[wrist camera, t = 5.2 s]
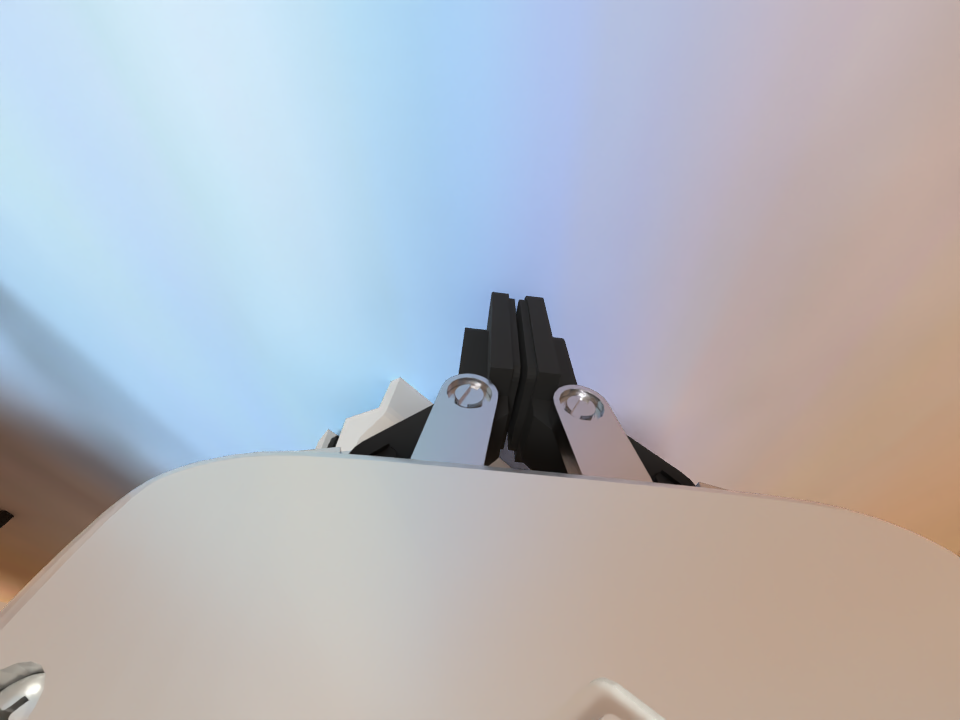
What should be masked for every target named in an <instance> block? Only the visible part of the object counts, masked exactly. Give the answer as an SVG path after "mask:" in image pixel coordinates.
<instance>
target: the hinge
mask: <svg viewBox="0 0 960 720" xmlns="http://www.w3.org/2000/svg"><path fill="white" fill-rule="evenodd" d="M431 405H433V403H431V402H430V401H429V400H428V399H426V398H425V397H424V396H423V395H422V394H420V393H419V392H418V391H417V390H415V389H414V388H413V387H412V386H410V385H409V384H408V383H407V382H406V381H404V380H403V379H402V378H401V377H400V378H397V379H395V380H393V381H391V382H390V385H389V387H388V389H387V391H386V393H385V396H384V398H383V400H382V402H381V404H380V406H379V408H376V409H373V410H370V411H367V412H364V413H361V414H358V415H355V416H352V417H350V418H347V419H346V420H345V423H344V425H343V428H342V431H341V433H340V436H338V435H336V434H335V433H333V432H332V431H330V430H327V431H326V432H325V434H324V435H323V436H322V437H321V439H320V440H319V441H318V444H317V446H316V449H322V448H333V447H341V451H351V450H352V449H353V448H354V447H355V446H357V445H358V444H360V443H361V442H362V441H364V440H366V439H368V438H370V437H372V436H374V435H376V434H377V433H379V432H381V431H383V430H385V429H387V428H389V427H391V426H393V425H395V424H397V423H398V422H400V421H402V420H404V419H406V418H408V417H410V416H412V415H414V414H416V413H417V412H419V411H421V410H423V409H425V408H427V407H429V406H431ZM489 466H492V467H502V468H511V467H510V466H509V465H508V464H506V463H505V462H504V461H503V460H501V459H500V458H498V459H497V460H496V461H494V462H493V463H492V464H490V465H489Z"/></svg>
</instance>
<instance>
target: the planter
mask: <svg viewBox="0 0 960 720" xmlns="http://www.w3.org/2000/svg"><path fill="white" fill-rule="evenodd" d="M12 518H13V515H11V514H10V513H8V512H7V511H0V528H1V527H2V526H3V525H5V524H6V523H7V522H8V521H9V520H10V519H12Z"/></svg>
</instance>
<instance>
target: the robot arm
mask: <svg viewBox="0 0 960 720" xmlns="http://www.w3.org/2000/svg"><path fill="white" fill-rule="evenodd" d="M507 433H508V450H514V455H515V462H522V463H524V464H526V465H527V466H528V467H529V468H530V470H523V469H513V468H502V467H492V466H489V465H490V464H492V463H493V462H494V461H496V460H497V459H498V458H499V454H500V449H503V448H504V444H505V440H506V435H507ZM0 720H960V557H959V556H957V555H956V554H954V553H953V552H951V551H949V550H948V549H946V548H944V547H942V546H940V545H938V544H936V543H935V542H933V541H931V540H929V539H927V538H925V537H923V536H921V535H918V534H916V533H914V532H912V531H910V530H907V529H905V528H902V527H900V526H897V525H894V524H892V523H889V522H887V521H884V520H882V519H879V518H876V517H873V516H869V515H866V514H863V513H859V512H856V511H852V510H849V509H846V508H842V507H837V506H832V505H828V504H823V503H818V502H813V501H807V500H800V499H793V498H786V497H778V496H772V495H764V494H756V493H747V492H739V491H730V490H726V489H722V488H719V487H715V486H712V485H708V484H705V483H701V482H698V484H697V485H696V486H695V485H694V483H693V482H692V481H691V480H690V479H689V478H688V477H686V476H685V475H684V474H683V473H682V472H680V471H679V470H677V469H676V468H674V467H673V466H671V465H670V464H668V463H667V462H665V461H664V460H663V459H661V458H660V457H658V456H657V455H655V454H654V453H652V452H651V451H649V450H648V449H646V448H645V447H643V446H642V445H641V444H639V443H638V442H636V441H635V440H633V439H632V438H630V437H629V436H627V435H626V434H625V432H624V430H623V428H622V427H621V425H620V423H619V421H618V419H617V418H616V416H615V414H614V412H613V411H612V409H611V407H610V405H609V404H608V402H607V401H606V400H605V399H604V397H602V396H601V395H600V394H599V393H597V392H596V391H594V390H592V389H590V388H587V387H584V386H580V385H577V382H576V379H575V375H574V372H573V368H572V365H571V361H570V358H569V354H568V351H567V347H566V344H565V341H564V339H562V338H554V337H552V332H551V328H550V324H549V320H548V316H547V311H546V307H545V303H544V299H543V298H540V297H532V296H526V297H525V300H519V302H518V306H517V312H516V309H515V299H510V298H509V294H505V293H496V292H492V295H491V302H490V309H489V317H488V324H487V330H481V329H472V328H465V332H464V340H463V347H462V354H461V361H460V368H459V374H458V375H455V376H453V377H450V378H449V379H448V380H446V381H445V382H444V384H443V385H442V387H441V389H440V391H439V394H438V396H437V398H436V401H435V403H434V404H433V405H431V406H429V407H427V408H425V409H423V410H421V411H419V412H417V413H416V414H414V415H412V416H410V417H408V418H406V419H404V420H402V421H400V422H398V423H397V424H395V425H393V426H391V427H389V428H387V429H385V430H383V431H381V432H379V433H377V434H376V435H374V436H372V437H370V438H368V439H366V440H364V441H362V442H361V443H360V444H358V445H357V446H355V447H354V448H353V449H352V450H351V451H341V447H333V448H322V449H311V450H301V451H262V452H253V453H244V454H235V455H228V456H223V457H218V458H214V459H209V460H204V461H199V462H195V463H192V464H188V465H185V466H181V467H179V468H176V469H173V470H170V471H167V472H164V473H162V474H160V475H158V476H156V477H154V478H152V479H150V480H148V481H146V482H144V483H143V484H141V485H140V486H138V487H137V488H135V489H133V490H132V491H130V492H129V493H128V494H126V495H125V496H124V497H122V498H121V499H120V500H118V501H117V502H116V503H114V504H113V505H112V506H111V507H109V508H108V509H107V510H106V511H105V512H103V513H102V514H101V515H100V516H99V517H98V518H96V519H95V520H94V521H93V522H92V523H91V524H90V525H89V526H87V527H86V528H85V529H84V530H83V531H82V532H81V533H80V534H79V535H77V536H76V537H75V538H74V539H73V540H72V541H71V542H70V543H69V544H68V545H67V546H66V547H65V548H63V549H62V550H61V551H60V552H59V553H58V554H57V555H56V556H55V557H54V558H53V559H52V560H51V561H50V562H49V563H48V564H47V565H46V566H45V567H44V568H43V569H42V570H41V571H40V572H38V573H37V574H36V575H35V576H34V577H33V578H32V579H31V581H30V582H29V583H28V584H27V585H26V586H25V587H24V588H23V589H22V590H21V591H20V592H19V593H18V594H17V595H16V596H15V597H14V598H13V599H12V600H11V601H10V602H9V603H8V604H7V605H6V606H5V607H4V608H3V609H2V610H1V611H0Z"/></svg>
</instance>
